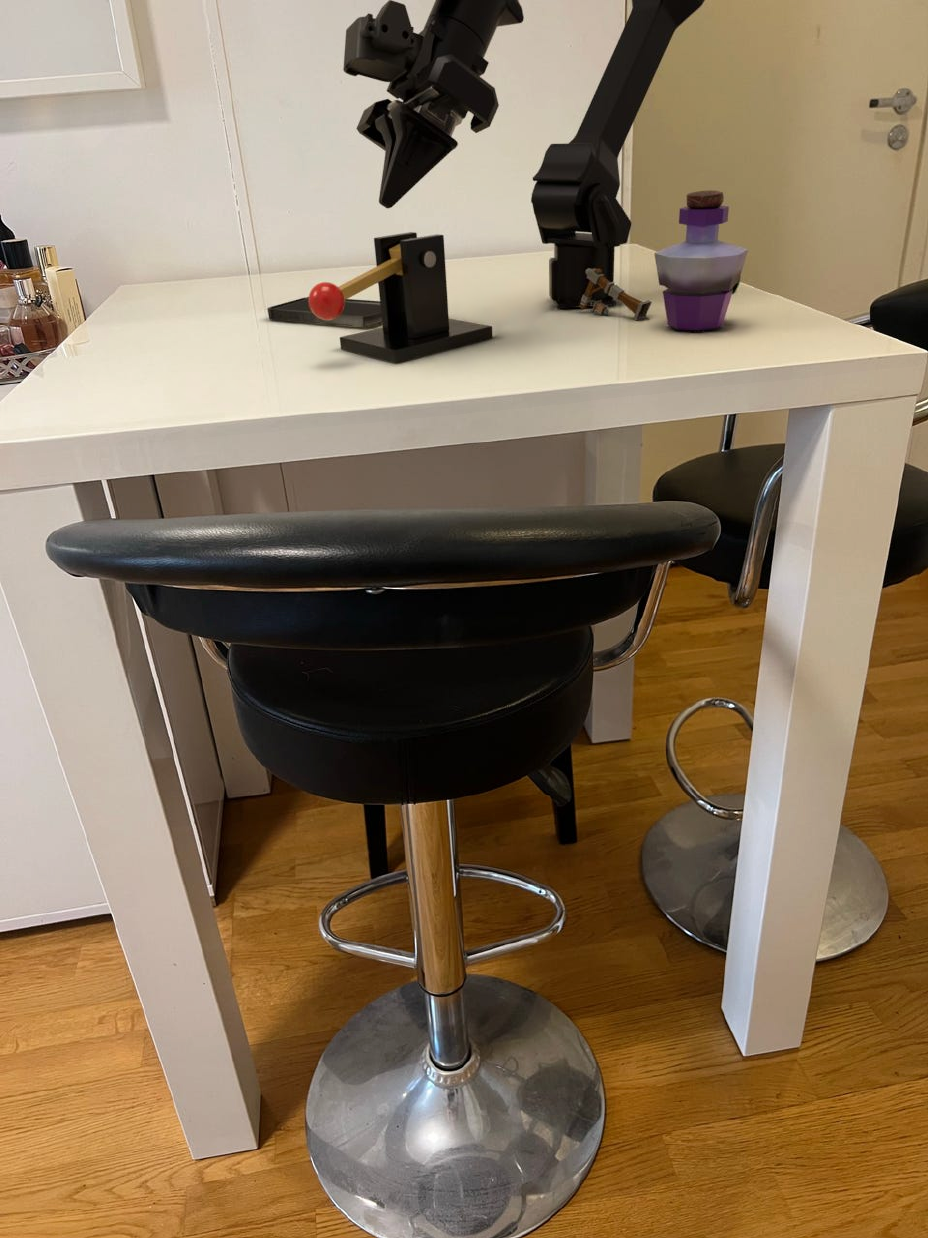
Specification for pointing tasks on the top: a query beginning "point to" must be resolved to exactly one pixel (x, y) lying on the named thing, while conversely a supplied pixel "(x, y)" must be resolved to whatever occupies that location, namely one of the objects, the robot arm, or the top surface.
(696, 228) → the potion bottle
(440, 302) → the bracket
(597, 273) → the wooden post with brackets
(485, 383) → the top surface
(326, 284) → the lever
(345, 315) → the phone
